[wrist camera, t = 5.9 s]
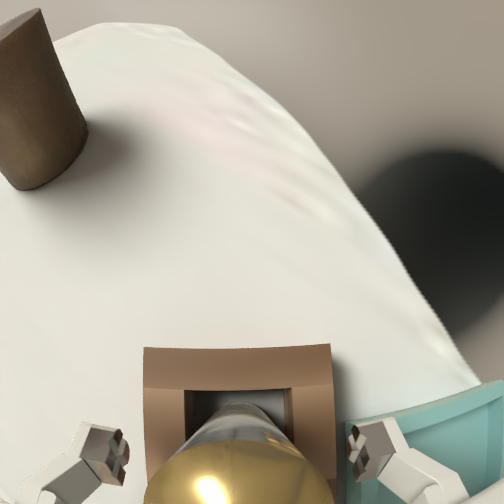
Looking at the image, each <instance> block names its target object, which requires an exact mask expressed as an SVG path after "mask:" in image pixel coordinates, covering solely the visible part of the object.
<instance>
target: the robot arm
mask: <svg viewBox="0 0 504 504" xmlns="http://www.w3.org/2000/svg"><path fill="white" fill-rule="evenodd" d="M351 432H352V435H350V436H349V437H348V439H347V442H346V451H347V456H348V459H349V460H350V461H352V462H353V463H354V464H353V466H352V472H353V475H354V478H355V481H356V482H360V481H365V480H369V479H373V478H377V479H378V480H379V481H380V482H381V483H383V484H384V485H385V486H386V487H388V488H389V489H390V490H391V491H392V492H394V493H395V494H396V495H397V496H399V497H400V498H401V499H402V500H404V501H405V502H406V503H408V504H504V477H503V478H502V479H500V480H499V481H497V482H496V483H494V484H492V485H491V486H489V487H488V488H486V489H484V490H483V491H481V492H479V493H478V494H476V495H474V496H472V497H471V498H470V497H469V495H468V493H467V491H466V489H465V487H464V485H463V483H462V481H461V479H460V477H459V475H458V473H456V472H454V471H453V470H451V469H449V468H447V467H445V466H444V465H442V464H440V463H438V462H437V461H435V460H433V459H431V458H430V457H428V456H426V455H424V454H423V453H421V452H419V451H418V450H416V449H414V448H409V446H408V444H407V442H406V440H405V438H404V436H403V434H402V432H401V430H400V428H399V426H398V424H397V422H396V420H395V418H393V417H388V418H384V419H380V420H379V419H378V420H374V421H369V422H365V423H360V424H355V425H354V426H352V429H351ZM122 436H123V433H122V432H121V430H120V429H117V428H111V427H105V426H100V425H95V424H90V423H85V422H82V423H81V424H80V425H79V426H78V428H77V431H76V433H75V435H74V438H73V440H72V443H71V445H70V448H69V450H68V453H67V454H62V455H61V456H59V457H58V458H56V459H55V460H53V461H52V462H50V463H49V464H48V465H46V466H45V467H43V468H42V469H40V470H39V471H37V472H35V473H34V474H32V475H31V476H29V477H28V478H26V479H25V480H24V481H23V483H22V485H21V488H20V490H19V493H18V495H17V498H16V501H15V503H14V504H81V503H82V502H83V501H84V500H85V499H87V498H88V497H89V496H90V495H91V494H92V493H93V492H94V491H95V490H96V489H97V488H98V487H99V486H100V485H101V484H102V483H107V484H112V485H117V486H123V482H124V478H125V474H126V472H125V470H124V468H123V467H124V466H125V465H126V464H128V461H129V452H130V450H129V445H128V443H127V441H126V440H124V439H123V438H122ZM101 482H102V483H101ZM0 504H9V503H8V502H6V501H4V500H2V499H0Z"/></svg>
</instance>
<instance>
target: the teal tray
mask: <svg viewBox="0 0 504 504" xmlns="http://www.w3.org/2000/svg"><path fill="white" fill-rule="evenodd" d="M388 417H393V418H395V420H396V422H397V424H398V426H399V428H400V430H401V432H402V434H403V436H404V438H405V440H406V442H407V444H408V446H409V448H414V449H416V450H418V451H419V452H421V453H423V454H424V455H426V456H428V457H430V458H431V459H433V460H435V461H437V462H438V463H440V464H442V465H444V466H445V467H447V468H449V469H451V470H453V471H454V472H456V473H458V475H459V477H460V479H461V481H462V483H463V485H464V487H465V489H466V491H467V493H468V495H469V497H470V498H471V497H472V496H474V495H476V494H478V493H479V492H481V491H483V490H484V489H486V488H488V487H489V486H491V485H492V484H494V483H496V482H497V481H499V480H500V479H502V478H503V477H504V379H501V380H496V381H490V382H486V383H484V384H481V385H479V386H476V387H474V388H471V389H468V390H466V391H463V392H460V393H457V394H454V395H451V396H448V397H445V398H442V399H439V400H436V401H433V402H429V403H426V404H422V405H419V406H415V407H412V408H408V409H404V410H400V411H396V412H392V413H387V414H383V415H378V416H374V417H369V418H364V419H358V420H353V421H347V422H345V436H346V442H347V439H348V437H349V436H350V435H352V432H351V429H352V426H354V425H355V424H360V423H365V422H369V421H374V420H378V419H379V420H380V419H384V418H388ZM353 464H354V463H353V462H352V461H350V460H349V459H348V456H347V451H346V504H408V503H406V502H405V501H404V500H402V499H401V498H400V497H399V496H397V495H396V494H395V493H394V492H392V491H391V490H390V489H389V488H388V487H386V486H385V485H384V484H383V483H381V482H380V481H379V480H378V479H377V478H373V479H369V480H365V481H360V482H356V481H355V478H354V475H353V472H352V466H353Z"/></svg>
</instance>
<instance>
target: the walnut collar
mask: <svg viewBox="0 0 504 504" xmlns="http://www.w3.org/2000/svg"><path fill="white" fill-rule="evenodd" d="M280 388H283V391H284V412H285V436H286V438H287V439H288V440H289V441H290V442H291V443H292V444H293V445H294V446H295V447H296V448H297V449H298V450H299V451H300V452H301V454H302V455H303V456H304V457H305V458H306V459H307V460H308V461H309V462H310V463H311V464H312V465H313V466H314V467H315V468H316V469H317V470H318V471H319V472H320V474H321V475H322V476H323V477H324V479H325V480H326V482H327V484H328V485H329V488H330V490H331V492H332V496H333V500H334V504H336V428H335V405H334V388H333V373H332V360H331V347H330V344H318V345H305V346H289V347H270V348H240V349H182V348H152V347H144V355H143V415H144V440H145V457H146V470H147V481H148V484H149V482H150V480H151V478H152V477H153V476H154V474H155V473H156V471H157V470H158V469H159V468H160V467H161V466H162V465H163V464H164V463H165V462H166V461H167V460H168V459H169V458H170V457H172V456H173V455H174V454H175V453H176V452H177V451H178V450H179V449H180V448H181V447H182V446H183V445H184V444H185V443H186V442H187V441H188V440H189V439H190V438H191V437H192V436H193V435H194V434H195V425H194V390H216V391H222V390H263V389H280Z"/></svg>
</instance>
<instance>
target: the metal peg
mask: <svg viewBox="0 0 504 504" xmlns="http://www.w3.org/2000/svg"><path fill="white" fill-rule="evenodd" d="M143 504H334V500H333V496H332V492H331V490H330V488H329V485H328V484H327V482H326V480H325V479H324V477H323V476H322V475H321V474H320V472H319V471H318V470H317V469H316V468H315V467H314V466H313V465H312V464H311V463H310V462H309V461H308V460H307V459H306V458H305V457H304V456H303V455H302V454H301V452H300V451H299V450H298V449H297V448H296V447H295V446H294V445H293V444H292V443H291V442H290V441H289V440H288V439H287V438H286V436H285V435H284V434H283V433H282V432H281V431H280V430H279V429H278V428H277V427H276V425H275V424H274V423H273V422H272V421H271V420H270V419H269V418H268V416H267V415H266V414H265V413H264V412H263V411H262V410H261V409H259V408H258V407H256V406H254V405H252V404H249V403H244V402H235V403H230V404H227V405H225V406H223V407H221V408H220V409H219V410H217V411H216V412H215V413H214V414H213V415H212V417H211V418H210V419H209V420H208V421H207V422H206V423H205V424H204V425H203V426H202V427H201V428H200V429H199V430H198V431H197V432H196V433H195V434H194V435H193V436H192V437H191V438H190V439H189V440H188V441H187V442H186V443H185V444H184V445H183V446H182V447H181V448H180V449H179V450H178V451H177V452H176V453H175V454H174V455H173V456H172V457H170V458H169V459H168V460H167V461H166V462H165V463H164V464H163V465H162V466H161V467H160V468H159V469H158V470H157V471H156V473H155V474H154V476H153V477H152V478H151V480H150V482H149V484H148V486H147V489H146V492H145V495H144V503H143Z"/></svg>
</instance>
